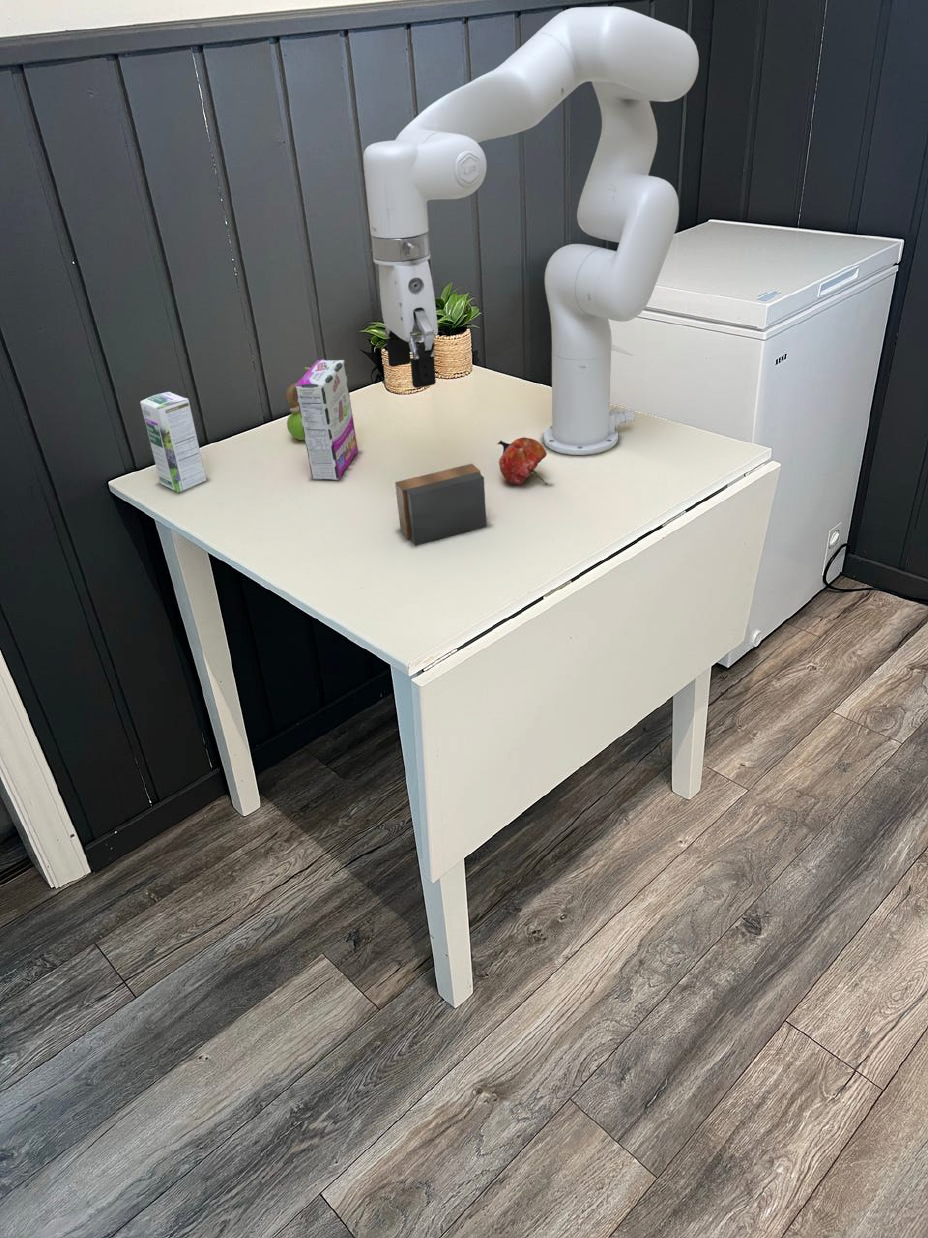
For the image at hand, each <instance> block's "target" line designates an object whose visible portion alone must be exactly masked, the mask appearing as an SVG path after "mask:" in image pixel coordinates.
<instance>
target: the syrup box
mask: <svg viewBox="0 0 928 1238" xmlns="http://www.w3.org/2000/svg"><path fill="white" fill-rule="evenodd" d="M139 403H140V407H141V411H142V415H143V419H144V423H145V427H146V432H147V436H148V440H149V444H150V448H151V451H152V455H153V459H154V464H155V468H156V472H157V475H158V480H159V482H160V485H162V486H165V487H167V488H168V489H170V490H171V491H172V490H173V491H175V492H177V493H181V492H184V491H186V490H188V489H191V488H193V487H195V486H197V485H200V484H202V483H204V482H206V481H207V477H206V471H205V467H204V462H203V458H202V454H201V449H200V445H199V441H198V435H197V431H196V426H195V421H194V418H193V413H192V409H191V405H190V404H191V403H190V400H189V398H187V397H184V396H180V395H179V394H176V393H173V392H171V391H166V392H162V393H158V394H154V395H151V396H149V397H147V398H145V399H143V400H140V402H139Z"/></svg>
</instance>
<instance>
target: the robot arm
mask: <svg viewBox="0 0 928 1238" xmlns="http://www.w3.org/2000/svg"><path fill="white" fill-rule="evenodd" d="M699 57H700V56H699V51H698V49H697V45H696V42H695V41H694V40H693V38H692V37H691V36H690V34H688V33H687V32H686V31H685V30H682V29H680V28H678V27H676V26H673V25H670V24H668V23H665V22H662V21H660V20H657V19H655V18H652V17H650V16H647V15H644V14H642V13H641V12H638V11H635V10H632V9H628V8H625V7H620V6H583V7H582V6H581V7H580V6H579V7H571V8H568V9H565V10H563V11H561V12H558V14H556V15H555V16H553V17H552V18H551V19H550V20H549V21H548V22H547V23H546V24H545V25H543V26H542V27H541V28H540V29H539V30H538V31H536V32H535V33H534V34H533V35H532V36H531V37H530V38H529V39H528V40H527V41H526V42H524V44H522V46H520V48H518V49H517V50H516V51H515V52H513V53H512V54H511V55H510V56H509V57H508V58H507V59H505V61H504V62H502V63H501V64H500V65H498V66H497V67H496V68H494V69H492V70H491V71H489V72H487V73H485V74H482V75H481V76H478V77H476V78H475V79H473V80H471V81H470V82H468V83H466V84H464V85H462V86H460V87H458V88H456V89H454V90H453V91H450V92H448V93H447V94H445V95H444V96H441V97H440V98H439V99H437V100H436V101H434V102H433V103H431V104H430V105H429V106H427V107H426V108H425V109H424V110H422V111H421V112H420V113H419V114H418V115H417V116H416V117H414V118H413V119H412V120H411V121H410V122H409V123H407V125H406V126H405V127H404V128H403V129H402V130H401V131H400V132H399V133H398V135H397V136H396V138H395V140H393V139H392V140H384V141H377V142H374V143H371V144H369V145H368V146H367V147H366V148H365V150H364V151H363V156H362V163H363V172H364V182H365V192H366V193H365V194H366V203H367V211H368V221H369V222H368V223H369V231H370V241H371V243H370V244H371V252H372V261H373V263H374V264H376V265H378V281H379V282H378V283H379V299H380V306H381V308H380V309H381V315H382V321H383V324H384V325H385V330H384V335H385V337H386V352H387V361H388V365H389V366H390V367H391V368H393V367H394V368H395V367H399V366H404V365H409V364H410V371H411V385H412V386H413V388H414V389H419V388H424V387H428V386H433V385H435V384H436V381H437V380H436V367H435V366H436V365H435V347H436V346H435V345H436V344H435V342H434V340H435V338H436V337H437V336H438V334H439V326H438V325H439V324H438V317H437V307H436V298H435V291H434V284H433V283H434V282H433V278H432V273H431V269H430V264H429V261H428V260H430V259H431V245H430V244H431V243H430V232H429V231H430V230H429V216H428V215H429V214H428V201H433V200H434V201H435V200H459V199H463V198H465V197H468V196H470V195H472V194H474V193H475V192H476V191H477V190H478V189H479V188H480V186H482V183H484V180H485V178H486V174H487V169H488V167H487V165H488V164H487V158H486V154H485V152H484V150H483V149H482V147H481V146H480V145H479V143H483V142H485V141H488V140H494V139H498V138H503V137H508V136H512V135H516V134H519V133H521V132H524V131H527V130H529V129H532V128H534V127H535V126H537V125H538V124H540V122H542V120H543V119H544V118H545V117H546V116H548V115H549V114H550V113H551V112H552V111H553V110H554V109H555V108H557V106H558V105H559V104H560V103H562V101H563V100H565V99H566V98H567V97H568V96H569V95H570V94H572V93H573V92H574V91H575V90H576V89H577V88H578V87H579V86H580V85H582V84H584V83H587V82H591V85H592V87H593V90H594V92H595V95H596V98H597V101H598V105H599V109H600V115H601V131H600V137H599V140H598V143H597V147H596V151H595V153H594V157H593V159H592V162H591V165H590V169H589V171H588V174H587V177H586V180H585V182H584V186H583V187H582V192H581V194H580V198H579V201H578V206H577V209H576V220H577V223H578V226H579V228H580V229H581V231H583V232H584V234H587V235H588V236H591V237H593V238H596V239H601V240H604V241H609V242H614V243H618V246H617V249H616V250H612V249H608V248H605V247H601V246H600V247H599V246H596V245H591V244H585V243H584V244H583V243H571V244H567V245H563V246H562V247H560V248H559V249H557V250H556V251H555V252H553V254H552V255H551V257H549V259H548V261H547V264H546V266H545V271H544V289H545V295H546V301H547V305H548V310H549V318H550V329H551V331H550V332H551V408H552V409H551V424H552V425H551V426H549V427H547V428H546V429H544V432H543V436H542V437H543V443H544V445H545V446H546V447H547V448H548V449H549V450H552V451H554V452H557V453H560V454H564V455H570V456H588V455H595V454H599V453H602V452H606V451H608V450H610V449H612V448H613V447H614V446H616V444H618V442H619V431H618V430H617V428H618V427H619V426H620V424H621V425H622V424H627V423H628V424H629V423H631V422H634V421H635V419H636V415H635V412H634V410H633V409H629V410H624V411H622V412H621V410H620V409H619V408H618V407H616V408H613V409H610V405H611V403H610V402H611V374H612V373H611V371H612V369H611V368H612V347H613V346H612V344H613V343H612V331H611V325H610V322H609V320H610V321H614V322H620V323H621V322H622V323H624V322H630V321H632V320H634V319H636V318H637V317H638V316H639V315H640V314H641V313H642V312H643V311H644V310H645V309H646V306H648V303H649V302H650V299H651V297H652V295H653V293H654V290H655V287H656V285H657V282H658V279H659V277H660V274H661V271H662V269H663V265H664V263H665V261H666V257H667V255H668V252H669V250H670V247H671V245H672V241H673V239H674V235H675V233H676V230H677V226H678V223H679V222H678V221H679V215H680V214H679V213H680V205H679V198H678V194H677V191H676V190H675V187H674V186H673V185H672V184H671V182H669V181H667V180H666V179H664V178H661V177H658V176H653V175H650V171H651V168H652V164H653V162H654V158H655V155H656V151H657V145H658V127H657V123H656V119H655V116H654V115H655V114H654V112H653V109H652V106H651V102H663V103H664V102H665V103H666V102H673V101H676V100H679V99H680V98H682V97H683V96H685V95H686V94H687V93H688V92H689V91H690V90H691V88H692V87H693V85H694V84H695V82H696V79H697V76H698V72H699V68H700V67H699V66H700V59H699ZM417 343H418V345H417ZM411 356H412V357H411Z"/></svg>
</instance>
